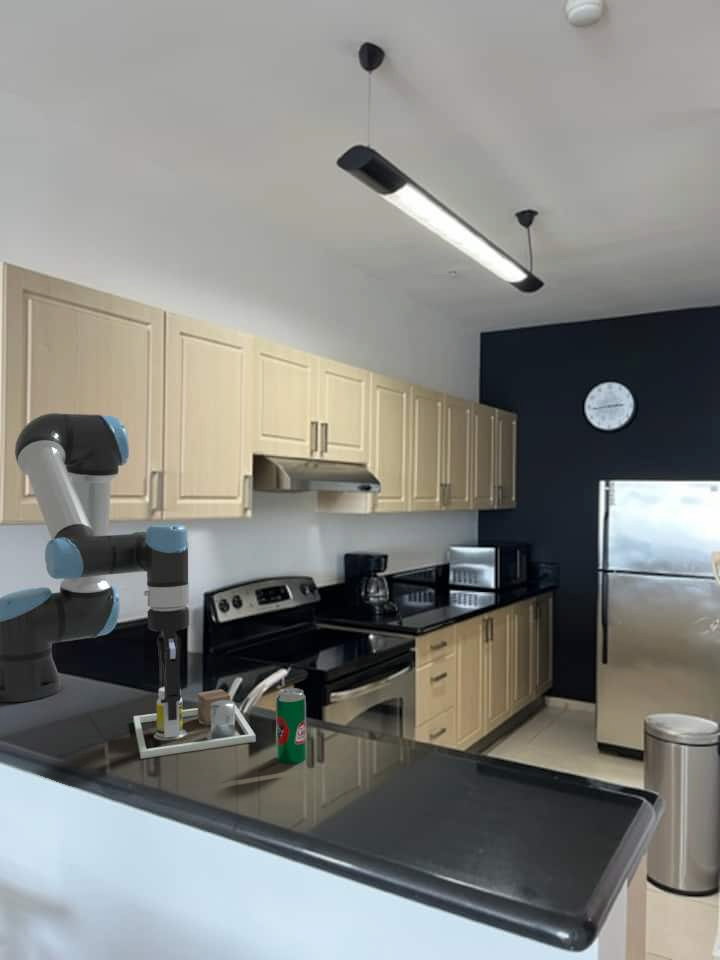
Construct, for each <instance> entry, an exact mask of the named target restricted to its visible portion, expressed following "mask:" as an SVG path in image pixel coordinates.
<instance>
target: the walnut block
mask: <svg viewBox="0 0 720 960" xmlns="http://www.w3.org/2000/svg"><path fill="white" fill-rule="evenodd" d="M220 700H230V701H231V694H229V693H228V692H227V691H225V690H223V689H222V688H221V689H220V688H219V689H215V690H209V691H202V692H198V693H197V708H198V715H197V719H198V721H199V720H201V721H202V722H203V723H204V724H203V725H205V726H211V703H213V702H215V701H220Z"/></svg>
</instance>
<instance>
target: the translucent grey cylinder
mask: <svg viewBox="0 0 720 960" xmlns="http://www.w3.org/2000/svg"><path fill="white" fill-rule="evenodd" d="M235 705H236V703H235V701H233V700H231V699H230V700H220V701H215V702H213V703H211V725H210V734H211V738H212V739H219V738H226V737H233V736H235V731H236V719H235Z"/></svg>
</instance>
